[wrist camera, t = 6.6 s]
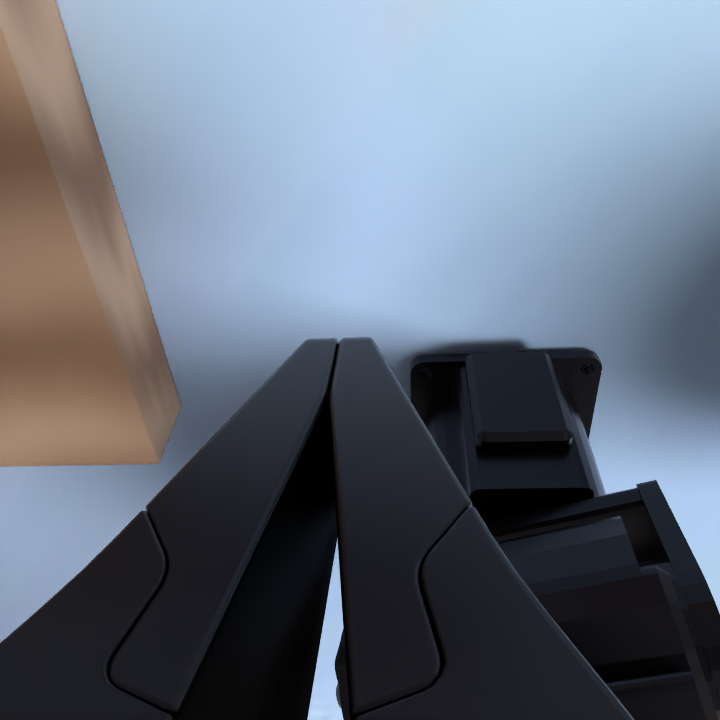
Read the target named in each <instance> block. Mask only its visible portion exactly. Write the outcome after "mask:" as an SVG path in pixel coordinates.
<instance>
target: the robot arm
mask: <svg viewBox="0 0 720 720" xmlns="http://www.w3.org/2000/svg"><path fill="white" fill-rule="evenodd" d="M586 363H590V365H589V366H588V367H585V368H581V367H580V366H582V365H583V364H586ZM421 368H429V369H430V370H429V371H428V372H421V371H419V370H420V369H421ZM601 370H602V365H601V362H600V359H599V357H598V356H597V354H596V353H594V352H592V351H587V350H583V351H549V352H543V351H533V352H499V353H473V354H447V355H423V356H418V357H417V358H415V359H414V360H413V361H412V362H411V366H410V377H411V401H410V399H409V398H408V396H407V394H406V393H405V391H404V389H403V388H402V386H401V384H400V383H399V381H398V380H397V378H396V376H395V375H394V373H393V371H392V370H391V368H390V366H389V365H388V363H387V361H386V360H385V358H384V356H383V355H382V353H381V351H380V350H379V348H378V346H377V345H376V343H375V342H374V340H373V339H372V338H370V337H358V338H343V339H342V340H340V342H338V340H337V339H334V338H329V339H308V340H306V341H305V342H303V343H302V345H301V346H300V347H299V348H298V349H297V350H296V351H295V352H294V353H293V354H292V355H291V356H290V357H289V358H288V359H287V360H286V361H285V362H284V363H283V364H282V365H281V366H280V367H279V368H278V369H277V371H276V372H275V373H274V374H273V375H272V376H271V377H270V378H269V379H268V380H267V381H266V382H265V383H264V384H263V385H262V386H261V387H260V388H259V389H258V390H257V391H256V392H255V393H254V394H253V395H252V397H251V398H250V399H249V400H248V401H247V402H246V403H245V404H244V405H243V406H242V407H241V408H240V409H239V410H238V411H237V412H236V413H235V414H234V415H233V416H232V417H231V418H230V419H229V420H228V421H227V423H226V424H225V425H224V426H223V427H222V428H221V429H220V430H219V431H218V432H217V433H216V434H215V435H214V436H213V437H212V438H211V439H210V440H209V441H208V442H207V443H206V444H205V445H204V446H203V447H202V449H201V450H200V451H199V452H198V453H197V454H196V455H195V456H194V457H193V458H192V459H191V460H190V461H189V462H188V463H187V464H186V465H185V466H184V467H183V468H182V469H181V470H180V471H179V472H178V473H177V475H176V476H175V477H174V478H173V479H172V480H171V481H170V482H169V483H168V484H167V485H166V486H165V487H164V488H163V489H162V490H161V491H160V492H159V493H158V494H157V495H156V496H155V497H154V498H153V500H152V501H151V502H150V503H149V504H148V505H147V506H146V511H147V512H146V511H141V512H140V513H139V514H138V515H137V516H136V517H135V518H134V519H133V520H132V521H131V522H130V523H129V524H128V525H127V526H126V527H125V528H124V529H123V530H122V531H121V532H120V533H119V534H118V535H117V536H116V537H115V538H114V539H113V540H112V541H111V542H110V543H109V544H108V545H107V546H106V547H105V548H104V549H103V550H102V551H101V552H100V553H99V554H98V555H97V556H96V557H95V558H94V559H93V560H92V561H91V562H90V563H89V564H88V565H87V566H86V567H85V568H84V569H83V570H82V571H81V572H80V573H79V574H78V575H76V576H75V577H74V578H73V579H72V580H71V581H70V582H69V583H68V584H67V585H65V586H64V587H63V588H62V589H61V590H60V591H59V592H58V593H57V594H55V595H54V596H53V597H52V598H51V599H50V600H49V601H48V602H47V603H46V604H44V605H43V606H42V607H41V608H40V609H39V610H38V611H37V612H35V613H34V614H33V615H32V616H31V617H30V618H29V619H27V620H26V621H25V622H24V623H23V624H22V625H20V626H19V627H18V628H17V629H16V630H15V631H14V632H12V633H11V634H10V635H9V636H8V637H7V638H6V639H4V640H3V641H2V642H1V643H0V720H307V717H308V711H309V705H310V699H311V693H312V687H313V681H314V675H315V669H316V663H317V657H318V651H319V645H320V639H321V633H322V627H323V621H324V615H325V609H326V603H327V597H328V590H329V584H330V578H331V572H332V566H333V560H334V554H335V548H336V542H337V536H338V551H339V566H340V580H341V595H342V610H343V625H344V629H343V632H342V636H341V641H340V645H339V648H338V652H337V655H336V659H335V671H336V676H337V680H338V684H337V687H336V696H337V701H338V704H339V706H340V707H341V709H342V714H343V719H344V720H720V614H719V611H718V609H717V606H716V604H715V601H714V599H713V596H712V594H711V591H710V589H709V587H708V584H707V582H706V580H705V578H704V576H703V573H702V571H701V569H700V567H699V565H698V563H697V561H696V559H695V557H694V555H693V553H692V551H691V549H690V547H689V545H688V543H687V541H686V539H685V537H684V535H683V533H682V531H681V529H680V527H679V525H678V523H677V521H676V519H675V517H674V515H673V513H672V511H671V509H670V507H669V505H668V503H667V501H666V499H665V497H664V495H663V493H662V491H661V489H660V487H659V485H658V483H657V481H656V480H654V481H649V482H645V483H640V484H636V486H637V488H634V489H629V490H625V491H621V492H616V493H612V494H607V495H606V493H605V490H604V487H603V484H602V481H601V478H600V475H599V472H598V469H597V465H596V462H595V459H594V456H593V453H592V450H591V447H590V444H589V441H588V439H589V434H590V428H591V423H592V418H593V412H594V407H595V402H596V397H597V391H598V386H599V381H600V376H601Z"/></svg>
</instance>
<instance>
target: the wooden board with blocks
mask: <svg viewBox="0 0 720 720" xmlns="http://www.w3.org/2000/svg"><path fill="white" fill-rule="evenodd" d="M180 409H181V403H180V400H179V397H178V394H177V390H176V387H175V384H174V381H173V377H172V374H171V371H170V368H169V365H168V361H167V358H166V355H165V352H164V348H163V345H162V342H161V339H160V336H159V332H158V329H157V326H156V323H155V319H154V316H153V313H152V310H151V306H150V303H149V300H148V297H147V294H146V290H145V287H144V284H143V281H142V277H141V274H140V271H139V268H138V264H137V261H136V258H135V255H134V252H133V248H132V245H131V242H130V239H129V235H128V232H127V229H126V226H125V222H124V219H123V216H122V213H121V210H120V206H119V203H118V200H117V197H116V193H115V190H114V187H113V184H112V180H111V177H110V174H109V171H108V168H107V164H106V161H105V158H104V155H103V151H102V148H101V145H100V142H99V138H98V135H97V132H96V129H95V126H94V122H93V119H92V116H91V113H90V109H89V106H88V103H87V100H86V96H85V93H84V90H83V87H82V84H81V80H80V77H79V74H78V71H77V67H76V64H75V61H74V58H73V54H72V51H71V48H70V45H69V42H68V38H67V35H66V32H65V29H64V25H63V22H62V19H61V16H60V12H59V9H58V6H57V3H56V0H0V466H56V465H114V464H159V462H160V460H161V457H162V455H163V452H164V450H165V447H166V445H167V442H168V439H169V437H170V434H171V432H172V429H173V427H174V424H175V421H176V419H177V416H178V414H179V411H180Z"/></svg>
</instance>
